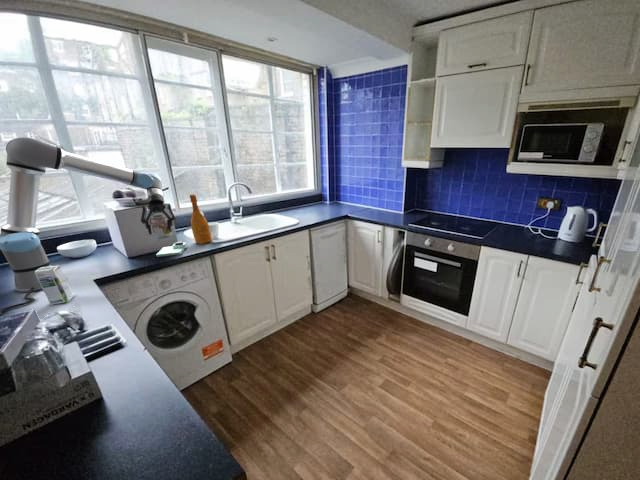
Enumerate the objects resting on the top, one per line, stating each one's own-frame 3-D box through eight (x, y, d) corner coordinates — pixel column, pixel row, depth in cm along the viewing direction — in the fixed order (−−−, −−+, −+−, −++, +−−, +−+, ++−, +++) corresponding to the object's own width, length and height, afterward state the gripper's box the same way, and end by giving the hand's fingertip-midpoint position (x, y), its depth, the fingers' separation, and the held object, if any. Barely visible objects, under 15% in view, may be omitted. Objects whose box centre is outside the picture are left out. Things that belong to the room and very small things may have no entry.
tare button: (182, 245, 174) (181, 242, 174) (174, 246, 173) (173, 243, 173) (183, 243, 178) (183, 241, 177) (176, 244, 177) (175, 241, 176)
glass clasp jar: (163, 239, 161) (157, 218, 156) (150, 239, 162) (143, 218, 157) (175, 235, 169) (170, 214, 165) (162, 234, 170) (156, 214, 166)
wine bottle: (200, 245, 182) (188, 196, 170) (192, 242, 187) (179, 195, 175) (215, 241, 190) (204, 193, 178) (206, 238, 195) (195, 192, 183)
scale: (182, 254, 168) (180, 249, 167) (156, 257, 164) (155, 252, 163) (188, 246, 180) (186, 241, 179) (164, 249, 177) (163, 244, 176)
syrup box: (49, 305, 116) (32, 272, 110) (57, 298, 121) (41, 266, 115) (68, 302, 118) (52, 269, 112) (74, 295, 123) (59, 264, 117)
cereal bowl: (68, 253, 174) (63, 242, 171) (103, 248, 180) (99, 237, 177) (56, 262, 160) (50, 250, 157) (94, 257, 166) (89, 245, 163)
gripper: (178, 200, 176) (184, 232, 169) (135, 204, 167) (139, 238, 160) (175, 192, 169) (181, 225, 162) (130, 196, 161) (134, 231, 154)
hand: (160, 231), depth 161 cm, fingers closed on glass clasp jar, 9 cm apart
